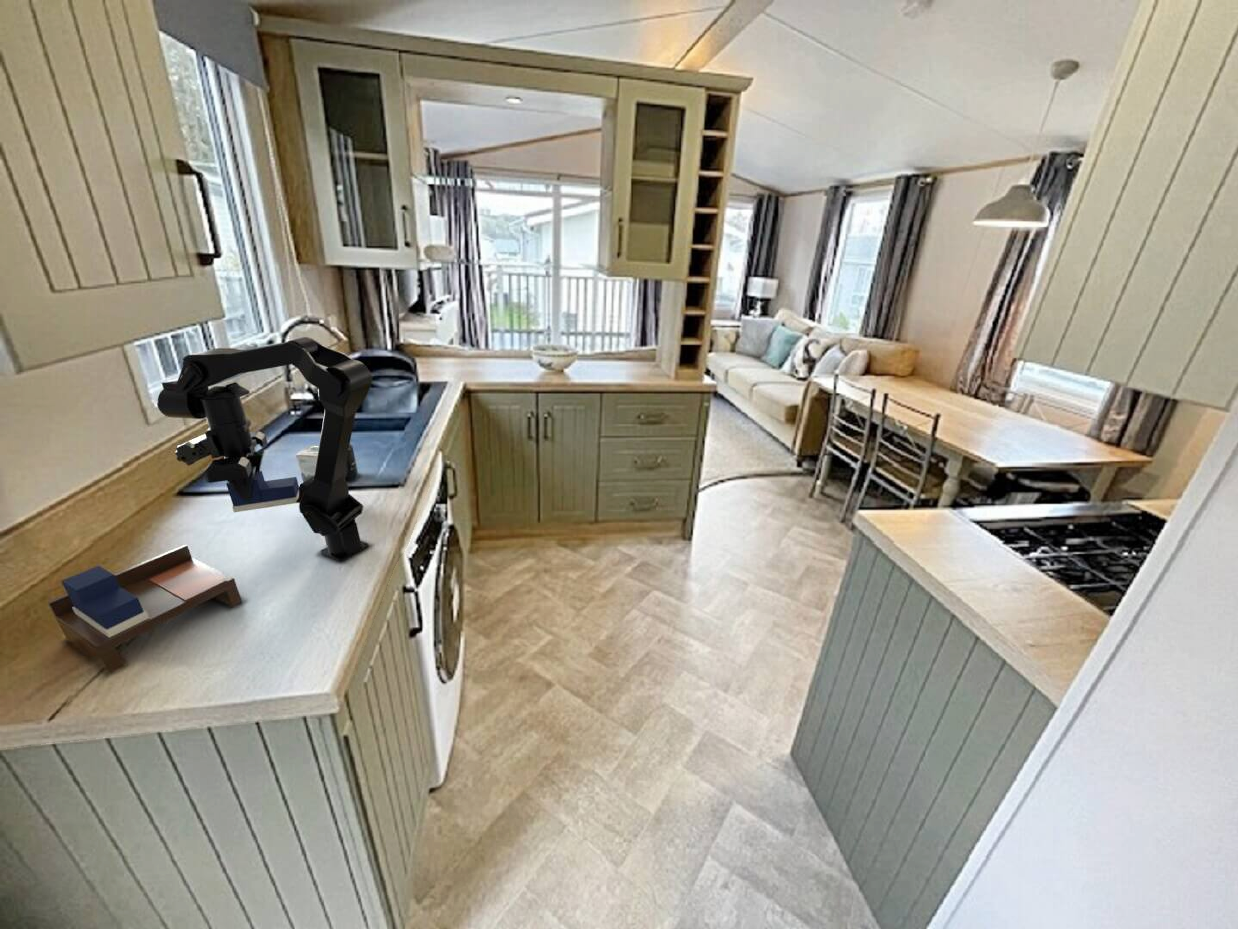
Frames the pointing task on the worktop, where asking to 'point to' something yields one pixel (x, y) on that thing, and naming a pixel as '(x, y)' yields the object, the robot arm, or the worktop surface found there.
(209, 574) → the shoe rack
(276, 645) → the worktop surface
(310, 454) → the syrup box
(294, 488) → the trainer
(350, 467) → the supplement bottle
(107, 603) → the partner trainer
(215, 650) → the worktop surface
